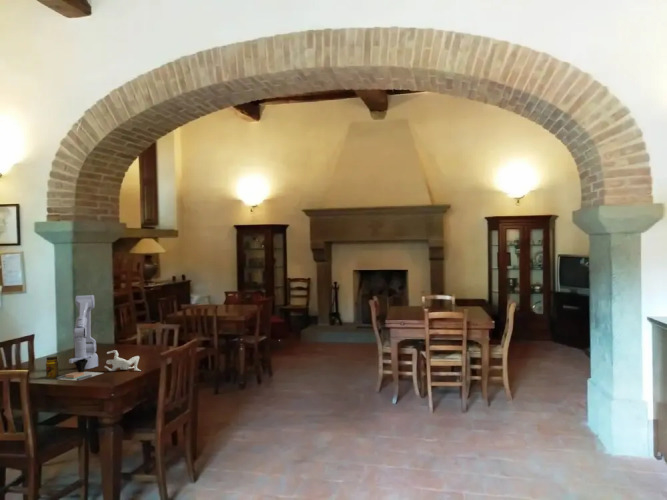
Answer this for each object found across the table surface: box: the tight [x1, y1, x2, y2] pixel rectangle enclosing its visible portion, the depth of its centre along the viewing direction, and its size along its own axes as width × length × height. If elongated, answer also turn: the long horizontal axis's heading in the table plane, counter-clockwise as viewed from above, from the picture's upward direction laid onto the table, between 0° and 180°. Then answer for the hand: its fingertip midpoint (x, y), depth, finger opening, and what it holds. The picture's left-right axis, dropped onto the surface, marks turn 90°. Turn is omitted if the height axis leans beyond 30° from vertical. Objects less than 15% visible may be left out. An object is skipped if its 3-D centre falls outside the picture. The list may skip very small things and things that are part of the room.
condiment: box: [45, 355, 60, 380], centre depth 291 cm, size 7×8×12 cm
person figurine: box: [104, 349, 142, 372], centre depth 303 cm, size 13×13×18 cm
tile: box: [64, 371, 85, 379], centre depth 289 cm, size 2×6×7 cm
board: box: [55, 371, 103, 382], centre depth 292 cm, size 18×16×2 cm
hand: (81, 373), depth 294 cm, fingers closed
